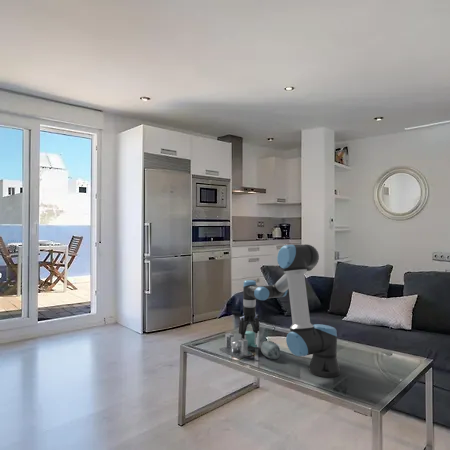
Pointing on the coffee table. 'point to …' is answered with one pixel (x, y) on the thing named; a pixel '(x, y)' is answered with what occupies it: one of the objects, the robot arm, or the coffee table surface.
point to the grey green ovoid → (270, 349)
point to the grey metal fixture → (236, 347)
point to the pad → (250, 347)
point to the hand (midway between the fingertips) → (249, 344)
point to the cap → (250, 338)
